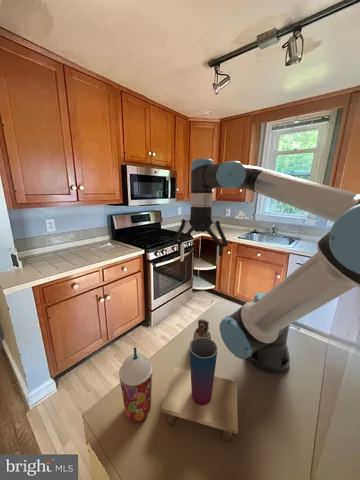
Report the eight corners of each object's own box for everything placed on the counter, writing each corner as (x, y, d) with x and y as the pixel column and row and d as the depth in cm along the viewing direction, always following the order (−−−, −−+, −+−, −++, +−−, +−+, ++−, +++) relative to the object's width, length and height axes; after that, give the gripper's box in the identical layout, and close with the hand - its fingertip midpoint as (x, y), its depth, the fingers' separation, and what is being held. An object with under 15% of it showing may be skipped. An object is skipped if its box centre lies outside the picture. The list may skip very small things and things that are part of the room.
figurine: (213, 344, 77) (215, 317, 74) (208, 357, 71) (209, 328, 68) (196, 338, 80) (197, 312, 77) (189, 350, 74) (190, 322, 71)
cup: (183, 401, 50) (184, 351, 46) (194, 379, 56) (196, 333, 52) (209, 414, 47) (212, 362, 43) (218, 390, 53) (221, 342, 49)
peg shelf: (235, 398, 57) (236, 381, 55) (235, 450, 45) (237, 430, 44) (174, 383, 61) (174, 367, 60) (161, 427, 50) (161, 408, 48)
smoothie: (155, 395, 58) (153, 336, 53) (151, 428, 49) (149, 362, 45) (127, 395, 58) (122, 336, 53) (118, 428, 49) (112, 362, 45)
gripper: (237, 206, 71) (233, 261, 76) (170, 204, 77) (170, 256, 82) (237, 207, 64) (233, 268, 69) (164, 205, 70) (165, 262, 75)
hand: (199, 262), depth 75 cm, fingers open, 13 cm apart
